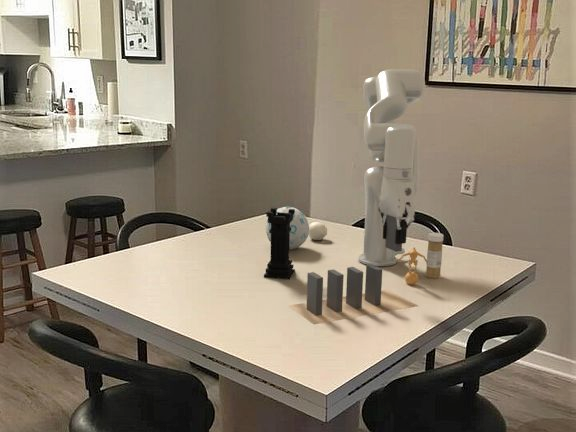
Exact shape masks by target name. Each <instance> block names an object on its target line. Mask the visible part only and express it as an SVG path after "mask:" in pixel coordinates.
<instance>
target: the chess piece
mask: <svg viewBox="0 0 576 432" xmlns="http://www.w3.org/2000/svg"><path fill="white" fill-rule="evenodd" d="M277 209H278V208H277V207H270V211H266V212H265V215H266V217H267V220H268V223H271V229H270V230H269V233H271V242H270V259H269V262H267V266H266V268H265V272H264V274H263V278H265V279H268V278H269V279H277V280H278V279H279V280H288V281H289V280H291V278H292V277H293V276H294V273H295V272H296V270H295V269H294V264H293V260H292V259H290V250H289V242H290V231H291V227H290V223H291V221H292V220H293V214H294V213H295V209H289V213H281V212H278V213H277ZM276 214H277V215H276Z"/></svg>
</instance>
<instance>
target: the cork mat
mask: <svg viewBox="0 0 576 432" xmlns="http://www.w3.org/2000/svg"><path fill="white" fill-rule="evenodd" d="M288 307H289V308H291V309H292V310H293V311H295V312H296V313H297V314H299V315H300V316H302V317H303V318H305V320H307V321H308V322H310V323H311V324H313V325H317V324H322V323H323V324H324V323H329V322H334V321H341V320H345V319H351V318H357V317H362V316H368V315H374V314H380V313H381V314H382V313H385V312H391V311H397V310H402V309H408V308H409V309H410V308H414V307H419V305H418V304H416V303H414V302H413V301H412V302H411V301H410V300H408V299H406V298H405V297H402V296H401V295H400V294H397V293H395V292H393V291H392V290H389V289H385V290H381V305H378V306H374V305H372V304H371V303H369V302H367V301H366V300H365V292H364V293H362V308H360V309H355V308H353V307H351V306H350V305H348V304H347V303H346V295H345V296H343V301H342V312H335V311H333V310H331V309H330V308H328V307H327V298H326V299H322V315H319V316H315V315H314V314H312V313H311V312H309V311H308V310H307V302H302V303H295V304H290V305H288Z"/></svg>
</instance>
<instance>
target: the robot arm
mask: <svg viewBox="0 0 576 432" xmlns="http://www.w3.org/2000/svg"><path fill="white" fill-rule="evenodd" d="M425 89H426V80H425V76H424V74H423V73H422V72H421V71H420V70H417V69H399V68H398V69H396V68H395V69H385V70H383V71H381V72H379V73H378V75H376V76H371V77H369V78H367V79H365V80H364V82H363V87H362V90H363V91H362V94H363V102H364V106H365V109H366V114H365V116H364V120H363V139H364V144H365V146H366V148H367V149H368V150H369V151H368V152H369V156H370V159H371V160H372V161H373V162H377V163H383V165H380V166H379V165H376V166H372V167H370V168H367V170H366V171H365V173H364V176H363V182H364V194H365V215H364V216H365V217H364V234H363V235H364V236H363V252H362V254H360V255H358V259H357V260H358V261H359V262H360V263H361V264H364V265H370V264H373V265H375V266H377V267H389V266H393V265H395V264H397V262H398V258H397V257H396V256H397V255H403V254H406V250H405V248H403V247H402V251H398V252H395V251H393V250H391V249H388V248H386V247H385V244H386V229H387V215H389V216H392V217H395V218H396V220H397V229H396V232H395V244H402V245H403V244H406V243H407V231H408V229H409V227H410V226H411V224H412V223H413V222H414V221H415V213H416V209H415V208H416V195H417V194H418V192H419V188H420V141H419V139H418V131H417V130H416V128H415V126H413V125H412V124H409V123H397V119H398V118H400V117H402V116H403V115H404V114H405V113H406V112H407V109H408V105H413V104H416V103H417V102H419V100H420V99H422V98H423V95H424V93H425ZM403 215H404V217H403ZM401 220H404V221H403V222H402V223H401Z"/></svg>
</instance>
